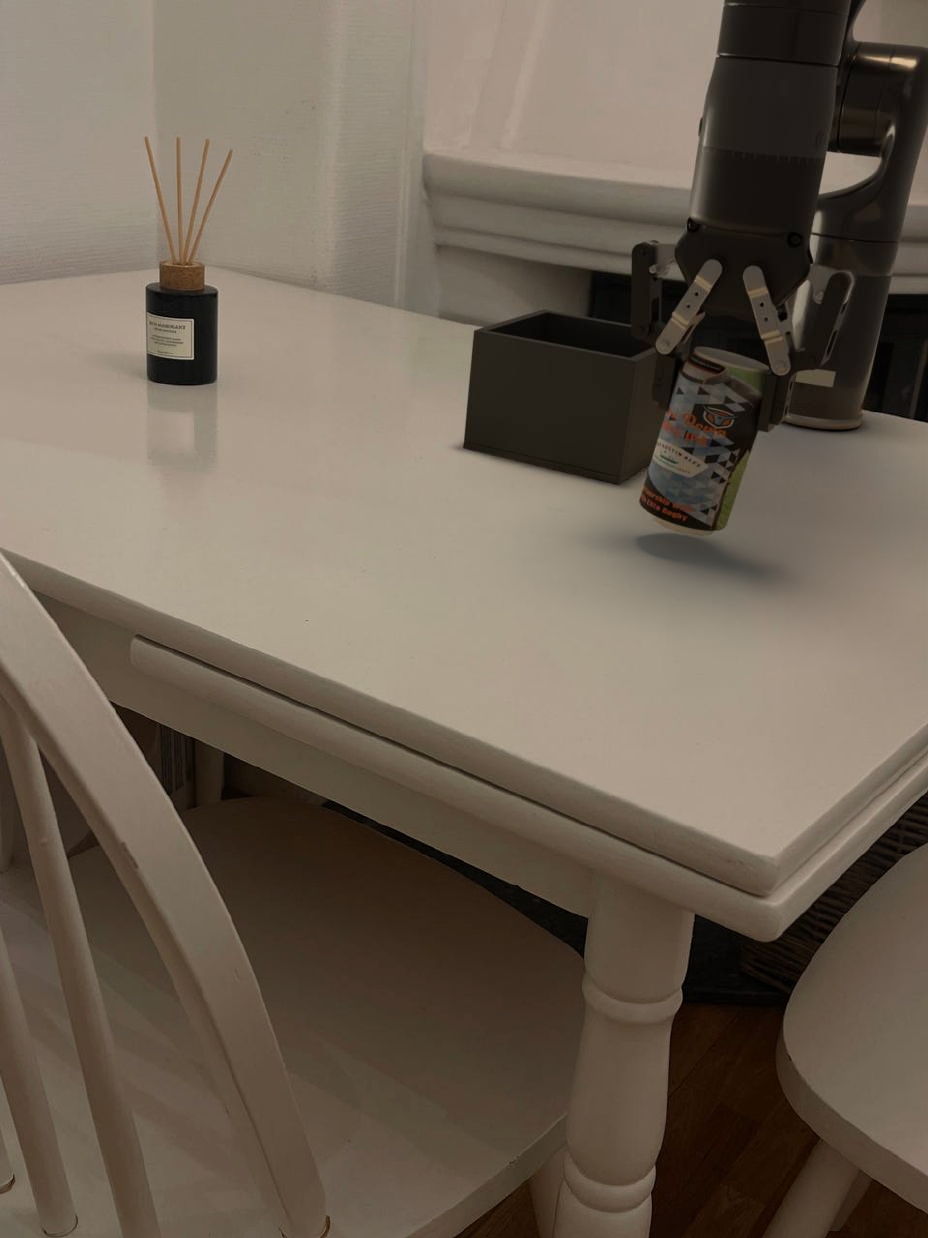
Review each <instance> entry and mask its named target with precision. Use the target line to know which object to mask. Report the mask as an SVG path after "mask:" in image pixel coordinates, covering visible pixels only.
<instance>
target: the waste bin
mask: <svg viewBox="0 0 928 1238" xmlns="http://www.w3.org/2000/svg"><path fill="white" fill-rule="evenodd" d="M692 339H693V336H692V334H690V336H689V337H688V339H687V340H686V342H685V343H684V345H683V350H682V352H687V353H686V359H688V358H689V357H690V351H691V346H692V345H691V344H692ZM470 357H471V358H470V369H469V379H468V392H467V403H466V411H465V412H466V413H465V423H464V424H465V425H464V433H463V434H464V435H463V446H462V449H465V450H468V451H472V452H476V453H477V452H478V453H482V454H486V455H489V456H494V457H499V458H503V459H506V460H507V459H508V460H511V461H515V462H520V463H525V464H529V465H533V466H537V467H542V468H547V469H552V470H556V471H560V472H564V473H569V474H573V475H576V476H581V477H585V478H590V479H594V480H599V481H602V482H607V483H611V484H616V485H620V484H621V483H623V482H625V481H626V480H627V479H629V478H630V477H632V476H633V475H634V474H636V473H637V472H639V471H641V470H642V469H644V468H645V467H646V466H648V465H650V464H651V460H652V457H653V454H654V450H655V447H656V444H657V440H658V437H659V434H660V431H661V427H662V424H663V421H664V417H665V414H666V412H663V411H659V410H658V404H659V402H658V401H653V396H652V387H653V380H654V374H655V367H656V360H657V352H656V349H655V348H654V347H653V346H652V345H651V344H649V343H648V342H646V341H644V340H643V339H641V340H639V339H636V338H634V337H633V335H632V333H631V324H628V323H622V322H618V321H611V320H606V319H599V318H594V317H590V316H584V315H578V314H573V313H566V312H561V311H556V310H550V309H545V308H543V309H541V310H540V309H539V310H536V311H534V312H530V313H527V314H524V315H520V316H517V317H513V318H510V319H507V320H506V319H505V320H503V321H499V322H497V323H493V324H489V325H486V326H483V327H480V328H478V329H474V330H473V336H472V346H471V356H470ZM686 359H685V360H686Z"/></svg>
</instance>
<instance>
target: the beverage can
mask: <svg viewBox="0 0 928 1238" xmlns="http://www.w3.org/2000/svg"><path fill="white" fill-rule="evenodd" d="M769 372H770V368H769V366H768V365H767V364H765V363H762V362H760V361H758V360H756V359H753V358H751V357H747V356H745V355H742V354H738V353H736V352H731V351H727V350H723V349H719V348H714V347H713V348H712V347H707V346H696V347H694V348H693V353H692V354H691V355H689V358H688V359H686V360H685V361H684V362H683V363H682V364H681V366H680V368H679V371H678V375H677V378H676V382H675V385H674V388H673V392H672V396H671V400H670V404H669V408H668V410H667V412H666V414H665V417H664V421H663V424H662V427H661V431H660V434H659V437H658V440H657V444H656V447H655V450H654V454H653V457H652V460H651V463H650V464H649V467H648V471H647V474H646V477H645V480H644V483H643V487H642V489H641V494H640V497H639V505H640V506H641V508H643V510H644V511H646V516H647V517H648V518H649V520H651V521H652V522H653V523H655V524H657V525H659V526H661V527H663V528H666V529H668V530H671V531H674V532H677V533H681V534H684V535H689V536H694V537H695V536H697V537H705V536H706V537H707V536H710V535H712V534H713V533H714V532H717V531H722V530H724V529H726V527H727V525H728V522H729V519H730V516H731V513H732V510H733V507H734V504H735V501H736V499H737V495H738V492H739V490H740V487H741V483H742V480H743V477H744V474H745V472H746V468H747V465H748V461H749V459H750V456H751V453H752V451H753V447H754V444H755V442H756V438H757V436H758V435H757V434H758V432H759V431H758V430H757V425H758V419H759V414H760V408H761V403H762V398H763V392H764V387H765V381H766V376H767V374H768V373H769Z"/></svg>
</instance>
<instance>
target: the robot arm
mask: <svg viewBox="0 0 928 1238" xmlns="http://www.w3.org/2000/svg"><path fill="white" fill-rule="evenodd" d="M866 2H867V0H724V1H723V7H722V11H721V12H722V13H721V20H720V26H719V32H718V39H717V46H716V53H715V54H716V57H715V58H714V63H713V64H714V65H713V68H712V72H711V76H710V79H709V81H708V82H709V83H708V86H707V89H706V92H705V93H706V94H705V98H704V104H703V108H702V109H703V110H702V115H701V117H700V119H699V124H698V131H697V134H698V135H697V136H698V143H697V149H696V157H695V163H694V170H693V177H692V184H691V190H690V196H689V202H688V210H687V214H686V215H687V217H686V218H687V219H686V225H685V229H684V232H683V233H682V235H681V236H680V237H679V239H678V241H677V242H660V241H658V240H655V239H652V240H646V241H641V242H640V243H636V244H635V245H634V246H633V247H632V250H631V272H630V273H631V274H630V275H631V276H630V277H631V278H630V279H631V280H630V281H631V285H630V290H631V292H630V325H631V333H632V335H633V337H634V338H636V339H639V340H641V339H643V340H644V341H646V342H648V343H649V344H651V345H652V346H653V347H654V348H655V349H656V352H657V360H656V367H655V374H654V380H653V387H652V396H653V401H658V402H659V404H658V410H659V411H663V412H667V410H668V408H669V404H670V400H671V396H672V392H673V388H674V385H675V382H676V378H677V375H678V371H679V368H680V366H681V364H682V363H683V362H684V361H685V359H686V353H687V352H682V350H683V345H684V343H685V342H686V340H687V339H688V337H689V336H690V335H692V333H693V331H694V330H695V329H696V327H697V325H698V324H699V323H700V322H701V321H702V320H703V319H704V318H705V317H706V315H709V316H715V317H718V316H720V317H721V316H728V315H729V316H732V317H734V318H735V319H738V320H740V321H745V322H750V323H754V322H755V323H756V326H757V330H758V334H759V337H760V339H761V341H762V342H763V344H764V346H765V350H766V354H767V357H768V361H769V366H770V369H769V372H768V374H767V376H766V381H765V387H764V392H763V398H762V403H761V408H760V414H759V419H758V425H757V430H758V432H764V433H770V432H771V431H773V430H774V429H775V427H776V426H779V425H780V424H781V423H782V422H784V423H788V424H792V425H796V426H800V427H806V428H813V429H821V430H850V429H855V428H857V427H860V426H861V424H862V420H863V415H864V414H863V411H864V406H865V401H866V397H867V391H868V387H869V382H870V379H871V374H872V370H873V365H874V360H875V357H876V356H875V355H876V352H877V347H878V342H879V337H880V334H881V330H882V325H883V320H884V314H885V310H886V306H887V303H888V297H889V293H890V288H891V283H892V278H893V273H894V268H895V264H896V260H897V256H898V252H899V251H898V250H899V246H900V242H901V241H900V240H901V237H902V233H903V228H904V223H905V218H906V213H907V208H908V205H909V199H910V195H911V192H912V191H911V190H912V186H913V181H914V178H915V173H916V170H917V165H918V162H919V158H920V154H921V150H922V148H923V145H924V140H925V137H926V133H927V130H928V47H925V46H919V45H911V44H901V43H900V44H898V43H887V42H877V41H876V42H875V41H862V40H856V39H855V37H854V26H855V24H856V23H855V22H856V21H857V18H858V17H859V14H860V13H861V10H862V8H863V7H864V6H865V3H866ZM827 152H828V153H834V154H842V155H852V156H859V157H860V156H861V157H869V158H878V159H879V163H878V165H877V167H876V169H875V171H874V172H873V173H872V174H871V175H869V176H868V177H866V178H864V179H863V180H861V181H859V182H857V183H855V184H852V185H850V186H847V187H844V188H840V189H836V190H832V191H826V192H822V193H820V190H821V189H820V188H821V183H822V179H823V172H824V169H825V163H826V157H827ZM674 261H675V263H676V264H677V266H678V269H679V271H680V273H681V275H682V277H683V279H684V281H685V283H686V285H687V288H688V289H687V291H686V292H685V293H684V295H683V297H681V300H680V301H679V303H678V304H677V306H676V307H675V309H674V310H673V312H672V313H671V317H670V319H669V320H668V322H667V324H666V323H664V322H662V295H663V294H662V293H663V292H662V291H663V289H662V288H663V286H662V285H663V281H662V280H663V277H665V276H666V275H668V274H669V272H670V271H671V266H672V263H673V262H674Z"/></svg>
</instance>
